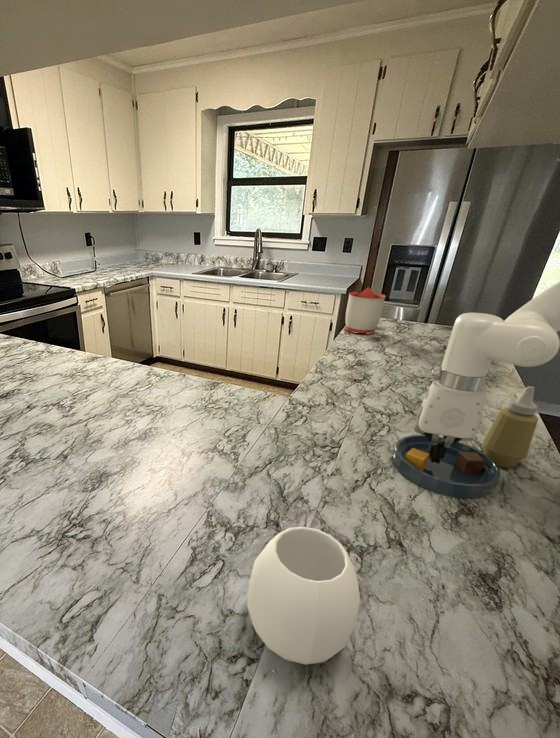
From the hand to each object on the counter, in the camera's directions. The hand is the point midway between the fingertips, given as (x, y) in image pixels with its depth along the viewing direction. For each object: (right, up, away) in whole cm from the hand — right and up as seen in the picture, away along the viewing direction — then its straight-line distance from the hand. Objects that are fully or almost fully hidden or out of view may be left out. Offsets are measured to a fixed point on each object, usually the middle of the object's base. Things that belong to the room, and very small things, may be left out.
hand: (433, 459), depth 84 cm
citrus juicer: (+25, +49, +102) cm, 116 cm away
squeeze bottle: (+17, -1, +4) cm, 17 cm away
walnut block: (+7, -2, 0) cm, 7 cm away
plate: (+2, -3, 0) cm, 3 cm away
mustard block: (-4, -2, 0) cm, 5 cm away
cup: (-37, -19, -32) cm, 53 cm away
